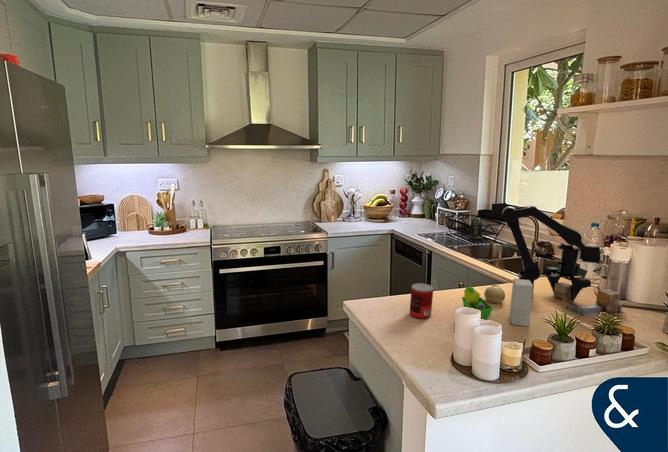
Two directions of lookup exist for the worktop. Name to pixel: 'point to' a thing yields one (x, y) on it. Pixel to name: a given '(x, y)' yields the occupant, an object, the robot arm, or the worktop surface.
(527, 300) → the skincare box
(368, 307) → the worktop surface
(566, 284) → the grey stone block
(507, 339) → the worktop surface
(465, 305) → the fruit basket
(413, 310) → the canned food
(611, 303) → the taupe stone cube
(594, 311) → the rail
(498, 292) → the onion
